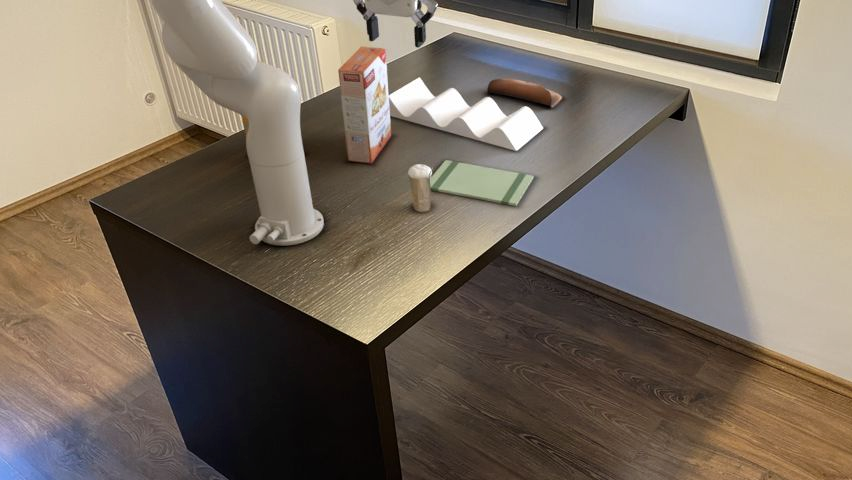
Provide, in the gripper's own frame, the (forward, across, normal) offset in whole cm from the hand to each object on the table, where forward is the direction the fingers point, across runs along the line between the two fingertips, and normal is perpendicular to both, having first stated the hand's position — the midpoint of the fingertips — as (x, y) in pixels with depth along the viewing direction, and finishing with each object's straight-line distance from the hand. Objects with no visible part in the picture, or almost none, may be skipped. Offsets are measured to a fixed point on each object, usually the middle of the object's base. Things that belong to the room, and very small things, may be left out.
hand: (396, 42), depth 146 cm
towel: (+27, +18, -3) cm, 32 cm away
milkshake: (+27, +11, -16) cm, 33 cm away
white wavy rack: (+26, +6, +23) cm, 36 cm away
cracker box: (+27, -10, +4) cm, 29 cm away
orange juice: (+27, -28, -6) cm, 39 cm away
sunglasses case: (+26, +15, +42) cm, 52 cm away
